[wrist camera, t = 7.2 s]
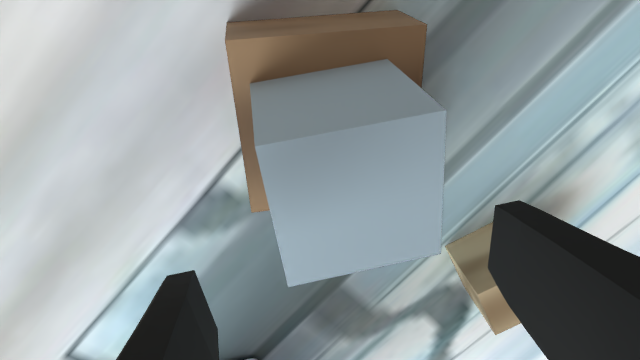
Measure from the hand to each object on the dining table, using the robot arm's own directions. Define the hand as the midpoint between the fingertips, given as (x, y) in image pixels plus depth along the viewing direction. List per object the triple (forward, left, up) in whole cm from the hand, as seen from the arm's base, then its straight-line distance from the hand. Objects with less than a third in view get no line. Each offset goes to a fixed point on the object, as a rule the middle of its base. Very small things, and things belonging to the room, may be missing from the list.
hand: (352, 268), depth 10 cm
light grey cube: (0, -1, -7) cm, 7 cm away
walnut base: (0, -1, -11) cm, 11 cm away
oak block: (-11, -10, -10) cm, 18 cm away
